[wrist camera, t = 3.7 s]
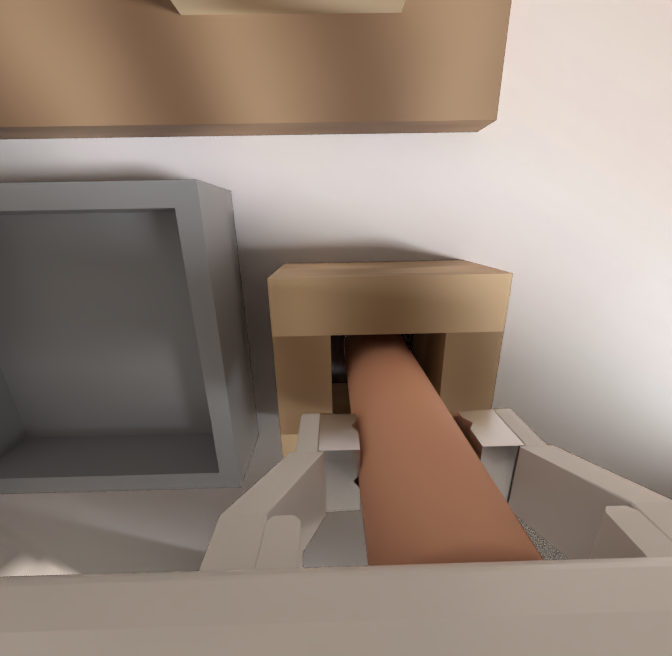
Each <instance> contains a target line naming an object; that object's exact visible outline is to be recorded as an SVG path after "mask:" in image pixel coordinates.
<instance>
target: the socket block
mask: <svg viewBox="0 0 672 656" xmlns="http://www.w3.org/2000/svg"><path fill="white" fill-rule="evenodd" d="M512 277H513V273H510V272H506V271H502V270H498V269H495V268H491V267H487V266H484V265H480V264H476V263H472V262H469V261H465V260H442V261H392V262H342V263H292V264H283V265H282V266H281V267H280V268H279V269H277V270H276V271H275V272H274V273H273V274H272V275H271V276H269V277H268V278H267V284H268V295H269V307H270V318H271V330H272V341H273V353H274V364H275V375H276V387H277V398H278V410H279V421H280V433H281V444H282V455H283V458H284V457H285V456H287V455H288V454H289V453H290V452H296V446H297V439H298V433H299V426H300V420H301V416H302V414H309V413H319V414H321V413H351V408H350V399H349V390H348V383H332V355H331V335H370V334H414V343H413V356H414V357H415V359H416V360H417V362H418V363H419V365H420V367H421V368H422V370H423V371H424V373H425V374H426V376H427V378H428V379H429V381H430V382H431V384H432V385H433V387H434V389H435V390H436V392H437V393H438V395H439V396H440V398H441V400H442V401H443V403H444V404H445V406H446V407H447V409H448V410H449V412H450V414H451V415H453V413H454V411H469V410H490V409H491V408H492V402H493V395H494V389H495V383H496V377H497V370H498V364H499V358H500V352H501V346H502V339H503V333H504V327H505V321H506V314H507V308H508V302H509V296H510V290H511V283H512Z"/></svg>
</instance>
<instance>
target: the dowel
mask: <svg viewBox="0 0 672 656" xmlns="http://www.w3.org/2000/svg"><path fill="white" fill-rule="evenodd" d="M344 355H345V364H346V373H347V381H348V390H349V399H350V408H351V413H355V414H356V420H357V431H358V435H359V443H360V474H359V475H358V478H359V487H360V496H361V505H362V514H363V523H364V531H365V540H366V549H367V558H368V566H372V565H405V564H437V563H470V562H502V561H534V560H543V558H542V556H541V555H540V553H539V552H538V550H537V549H536V547H535V545H534V544H533V542H532V541H531V539H530V538H529V536H528V534H527V533H526V531H525V530H524V528H523V527H522V525H521V523H520V522H519V520H518V519H517V517H516V516H515V514H514V512H513V511H512V509H511V508H510V506H509V505H508V503H507V501H506V500H505V498H504V497H503V495H502V494H501V492H500V490H499V489H498V487H497V486H496V484H495V483H494V481H493V480H492V478H491V476H490V475H489V473H488V472H487V470H486V469H485V467H484V465H483V464H482V462H481V461H480V459H479V458H478V456H477V454H476V453H475V451H474V450H473V448H472V447H471V445H470V443H469V442H468V440H467V439H466V437H465V436H464V434H463V432H462V431H461V429H460V428H459V426H458V425H457V423H456V421H455V420H454V418H453V417H452V415H451V414H450V412H449V410H448V409H447V407H446V406H445V404H444V403H443V401H442V400H441V398H440V396H439V395H438V393H437V392H436V390H435V389H434V387H433V385H432V384H431V382H430V381H429V379H428V378H427V376H426V374H425V373H424V371H423V370H422V368H421V367H420V365H419V363H418V362H417V360H416V359H415V357H414V356H413V354H412V352H411V351H410V349H409V348H408V346H407V345H406V343H405V341H404V340H403V338H402V337H401V335H400V334H370V335H346V336H345V339H344Z"/></svg>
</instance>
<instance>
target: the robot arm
mask: <svg viewBox="0 0 672 656" xmlns="http://www.w3.org/2000/svg"><path fill="white" fill-rule="evenodd" d="M452 417H453V418H454V420H455V421H456V423H457V425H458V426H459V428H460V429H461V431H462V432H463V434H464V436H465V437H466V439H467V440H468V442H469V443H470V445H471V447H472V448H473V450H474V451H475V453H476V454H477V456H478V458H479V459H480V461H481V462H482V464H483V465H484V467H485V469H486V470H487V472H488V473H489V475H490V476H491V478H492V480H493V481H494V483H495V484H496V486H497V487H498V489H499V490H500V492H501V494H502V495H503V497H504V498H505V500H506V501H507V503H508V505H509V506H510V508H511V509H512V511H513V512H514V514H515V515H516V516H517V517H518V518H520V519H521V520H522V521H523V522H524V523H526V524H527V525H528V526H529V527H530V528H532V529H533V530H534V531H535V532H537V533H538V534H539V535H540V536H541V537H543V538H544V539H545V540H546V541H547V542H549V543H550V544H551V545H552V546H553V547H555V548H556V549H557V550H558V551H559V552H561V553H562V554H563V555H564V556H566V557H567V558H568V560H534V561H502V562H470V563H437V564H405V565H372V566H340V567H307V568H304V566H303V552H304V550H305V548H306V547H307V545H308V544H309V542H310V540H311V539H312V537H313V535H314V534H315V532H316V530H317V529H318V527H319V526H320V524H321V522H322V521H323V519H324V517H325V516H326V512H334V511H351V510H360V487H359V478H358V475H359V474H360V443H359V435H358V431H357V420H356V414H355V413H321V414H319V413H309V414H302V416H301V420H300V426H299V433H298V439H297V446H296V452H290V453H289V454H288V455H287V456H285V457H284V458H283V459H282V460H281V461H280V462H279V463H278V464H277V465H275V466H274V467H273V468H272V469H271V470H270V471H269V472H268V473H266V474H265V475H264V476H263V477H262V478H261V479H260V480H259V481H258V482H256V483H255V484H254V485H253V486H252V487H251V488H250V489H249V490H248V491H246V492H245V493H244V494H243V495H242V496H241V497H240V498H239V499H238V500H236V501H235V502H234V503H233V504H232V505H231V506H230V507H229V508H228V509H226V510H225V511H224V512H223V513H222V514H221V515H220V517H219V519H218V522H217V524H216V527H215V530H214V532H213V535H212V537H211V540H210V543H209V545H208V548H207V550H206V553H205V555H204V558H203V561H202V563H201V566H200V568H199V571H175V572H142V573H109V574H76V575H42V576H9V577H0V656H672V500H671V499H669V498H667V497H664V496H662V495H660V494H658V493H656V492H654V491H651V490H649V489H647V488H645V487H643V486H641V485H638V484H636V483H634V482H632V481H630V480H628V479H625V478H623V477H621V476H619V475H617V474H615V473H612V472H610V471H608V470H606V469H604V468H601V467H599V466H597V465H595V464H593V463H591V462H588V461H586V460H584V459H582V458H580V457H578V456H575V455H573V454H571V453H569V452H567V451H565V450H562V449H560V448H558V447H556V446H554V445H546V444H545V443H544V442H543V441H542V440H541V439H540V438H539V437H538V436H537V435H536V434H535V433H534V431H533V430H532V429H531V428H530V427H529V426H528V425H527V424H526V423H525V422H524V421H523V420H522V419H521V418H520V417H519V416H518V415H517V414H516V413H515V412H514V411H513V410H511V409H508V408H503V409H490V410H469V411H454V413H453V415H452Z"/></svg>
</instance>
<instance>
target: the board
mask: <svg viewBox="0 0 672 656" xmlns="http://www.w3.org/2000/svg"><path fill="white" fill-rule="evenodd" d="M510 8H511V0H405V3H404V6H403V9H402V12H401V13H334V14H243V15H181V14H180V13H179V11H178V10H177V9H176V7H175V6H174V4H173V3H172V2H171V0H0V139H47V138H112V137H177V136H242V135H308V134H373V133H438V132H478V131H480V130H481V129H483V128H484V127H486V126H488V125H489V124H491V123H492V122H494V121H496V120H497V112H498V104H499V96H500V88H501V80H502V72H503V64H504V56H505V48H506V40H507V32H508V24H509V16H510Z"/></svg>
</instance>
